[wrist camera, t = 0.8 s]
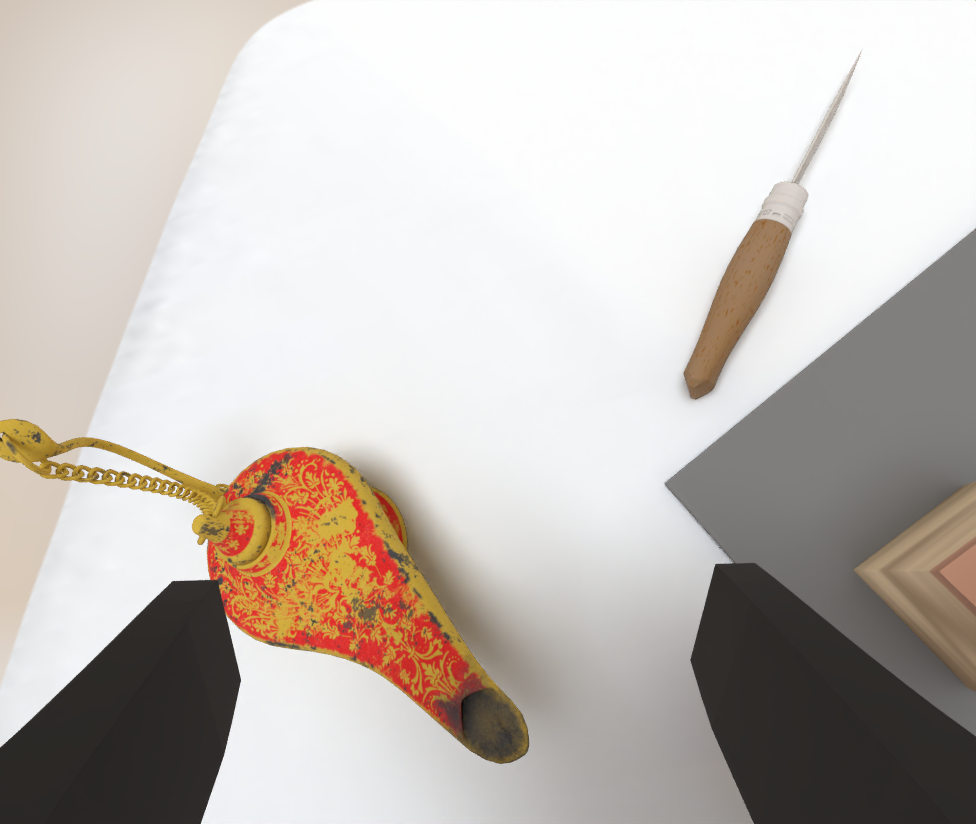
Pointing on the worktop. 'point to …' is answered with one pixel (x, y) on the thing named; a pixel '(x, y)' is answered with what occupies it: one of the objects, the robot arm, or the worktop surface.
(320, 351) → the worktop surface
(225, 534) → the magic lamp
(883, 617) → the rubber mat
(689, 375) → the folding knife
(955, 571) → the maple block
